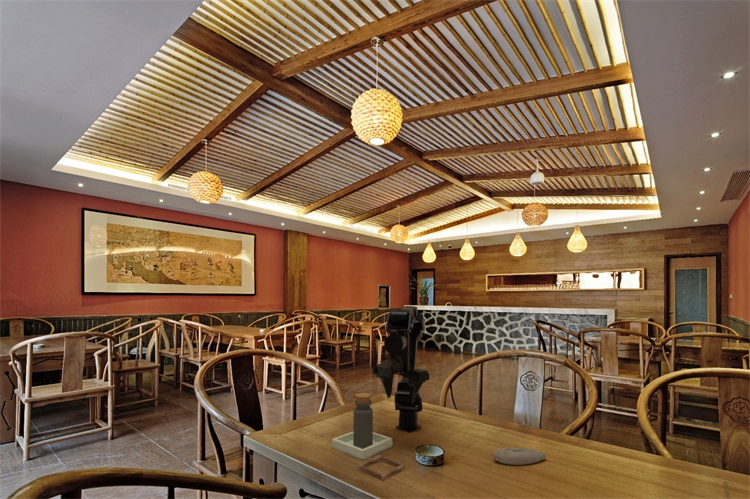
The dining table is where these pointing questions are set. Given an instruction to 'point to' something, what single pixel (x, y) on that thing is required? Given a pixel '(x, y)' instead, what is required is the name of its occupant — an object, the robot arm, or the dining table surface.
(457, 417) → the dining table surface
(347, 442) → the tray
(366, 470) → the seat frame
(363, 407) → the bottle
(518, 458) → the decorative stone
